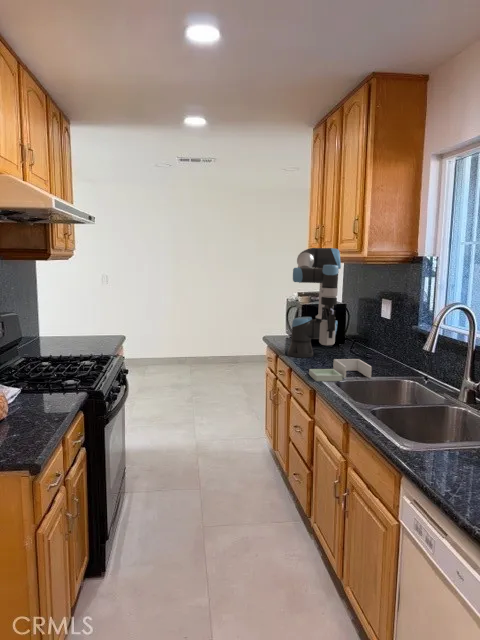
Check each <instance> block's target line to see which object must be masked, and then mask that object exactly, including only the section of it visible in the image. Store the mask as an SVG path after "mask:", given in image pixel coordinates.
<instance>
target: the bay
mask: <svg viewBox="0 0 480 640" xmlns="http://www.w3.org/2000/svg"><path fill="white" fill-rule="evenodd" d="M332 363H333V366H332V367H333V368H332V369H335V370H336V371H337V372H339V373H340V374H341V375H342V379H344V378H347V371H349V372H353V371H354V372H355V371H357V372H359V373H360V374H362V375H363V376H365V377H364V379H372V370H373V367H372V366H371V365H370V364H368V363H366V362H365V361H363V360H361V359H360V358H348V359H347V358H341V359H340V358H338V359H337V358H334V359H333V362H332Z"/></svg>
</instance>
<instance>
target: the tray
mask: <svg viewBox="0 0 480 640" xmlns="http://www.w3.org/2000/svg"><path fill="white" fill-rule="evenodd" d="M308 370H309V371H308V375H309V376H310V377H311V378H312V379H313V380H314V381H315V382H342V381H343V377H342V375H341V374H340V373H339V372H337V371H336V370H335V369H333V368H309V369H308Z"/></svg>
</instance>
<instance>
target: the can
mask: <svg viewBox="0 0 480 640" xmlns="http://www.w3.org/2000/svg"><path fill="white" fill-rule="evenodd" d="M335 328H336V324H335ZM327 330H328V323H327V320H322V322H321V323H320V337H319V339H318V342H319V344H320V345H322V346H328V345H327ZM335 342H336V335H335V331H333V344H332V345H331V346H333V345H334V344H335Z"/></svg>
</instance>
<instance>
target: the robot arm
mask: <svg viewBox="0 0 480 640" xmlns="http://www.w3.org/2000/svg"><path fill="white" fill-rule="evenodd" d="M296 264H297V267H294V268H293V269H292V282H294V283H299V284H300V283H302V284H303V283H304V284H306V283H307V284H308V283H309V284H319V291H318V293H319V295H318V314H317V315H315V319H313V318H312V316H298V317H295V318H293V319H292V322H291V323H292V324H291V341H290V342H291V343H290V345H289V348H288V351H287V355H288V356H289V357H294V358H302V359H307V358H312V357H314V350H313V346H312V340H319V337H320V323H321V322H322V320H327V323H328V330H327V345H326V346H333V345H334V344H333V331H335V336H336V335H337V331H338V320H336V310H335V309H334V306H337V304H338V298H337V296H338V291H339V290H338V286H339V285H338V284H339V274H340V273H339V272H340V271H339V270H340V269H341V267H342V263H341V253H340V250H339V248H333V247H310V248H307V249H304V250H303V251H301V252H300V253H299V254H298V255H297V259H296ZM335 324H336V328H335ZM332 344H333V345H332Z"/></svg>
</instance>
